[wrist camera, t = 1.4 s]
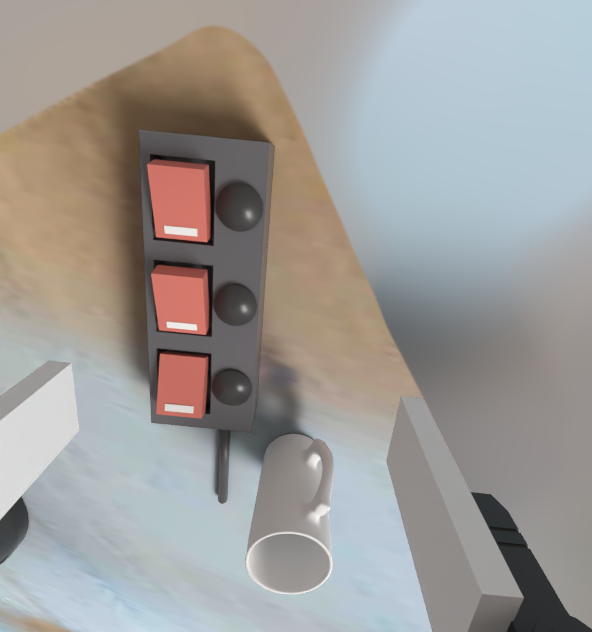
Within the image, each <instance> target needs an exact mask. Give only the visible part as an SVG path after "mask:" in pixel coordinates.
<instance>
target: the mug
mask: <svg viewBox="0 0 592 632" xmlns="http://www.w3.org/2000/svg"><path fill="white" fill-rule="evenodd" d="M333 478H334V461H333V456H332V453H331V451H330V449H329V448H328V446H327V445H326V443H325V442H324V441H322V440H320V439H315V440H312V439H311V438H309V437H307V436H304V435H300V434H287V435H283V436H280V437H278V438H276V439H275V440H273V441H272V442H271V443H270V444H269V446H268V447H267V449H266V452H265V456H264V461H263V465H262V470H261V475H260V481H259V486H258V492H257V497H256V502H255V508H254V513H253V518H252V523H251V529H250V534H249V540H248V548H247V554H246V558H245V564H246V569H247V571H248V573H249V575H250V577H251V578H252V579H253V580H254V581H255V582H256V583H257V584H258V585H260V586H261V587H263V588H265V589H267V590H269V591H272V592H276V593H281V594H300V593H305V592H308V591H311V590H313V589H315V588H317V587H319V586H320V585H321V584H323V583H324V582H325V581H326V579H327V578H328V577H329V575H330V573H331V570H332V553H331V535H330V523H329V512H328V510H330V508H331V506H330V500H331V493H332V487H333Z"/></svg>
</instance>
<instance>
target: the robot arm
mask: <svg viewBox="0 0 592 632" xmlns="http://www.w3.org/2000/svg"><path fill="white" fill-rule="evenodd" d="M78 431H79V424H78V416H77V407H76V399H75V390H74V381H73V373H72V364H71V363H66V362H56V361H48V362H46V363H45V364H44V365H42V366H41V367H40V368H38V369H37V370H36V371H34V372H33V373H31V374H30V375H29V376H27V377H26V378H25V379H23V380H22V381H20V382H19V383H18V384H16V385H15V386H14V387H12V388H11V389H10V390H8V391H7V392H5V393H4V394H3V395H1V396H0V564H2V563H3V562H4V561H5V560H6V559H7V558H8V557H9V556H10V555H11V554H12V553H13V552H14V550H15V549H16V548H17V546H18V545H19V544H20V543H21V541H22V540H23V539H24V537H25V535H26V533H27V530H28V523H29V521H28V513H27V510H26V507H25V504H24V502H23V500H22V499H21V496H22V495H23V494H24V492H25V491H26V490H27V489H28V488H29V487H30V486H31V484H32V483H33V482H34V481H35V480H36V479H37V478H38V477H39V475H40V474H41V473H42V472H43V471H44V470H45V469H46V467H47V466H48V465H49V464H50V463H51V462H52V461H53V460H54V458H55V457H56V456H57V455H58V454H59V453H60V452H61V450H62V449H63V448H64V447H65V446H66V445H67V444H68V443H69V441H70V440H71V439H72V438H73V437H74V436H75V435H76V434H77V432H78ZM387 465H388V469H389V472H390V476H391V480H392V484H393V487H394V491H395V495H396V498H397V502H398V506H399V509H400V513H401V517H402V521H403V524H404V528H405V532H406V535H407V539H408V543H409V547H410V550H411V554H412V558H413V561H414V565H415V569H416V572H417V576H418V580H419V584H420V587H421V591H422V595H423V598H424V602H425V606H426V610H427V613H428V617H429V621H430V624H431V628H432V632H592V629H591V628H589V627H588V626H586V625H585V624H584V623H582V622H581V621H579V620H578V619H576V618H574V617H572V616H570V615H569V614H568V612H567V611H566V610H565V608H564V606H563V604H562V603H561V601H560V599H559V598H558V596H557V594H556V593H555V591H554V589H553V587H552V586H551V584H550V582H549V581H548V579H547V577H546V576H545V574H544V572H543V570H542V569H541V567H540V565H539V564H538V562H537V560H536V559H535V557H534V555H533V553H532V552H531V550H530V549H528V547H527V543H526V541H525V540H524V538H523V536H522V535H521V533H519V532H518V528H517V526H516V524H515V523H514V521H513V519H512V518H511V516H510V514H509V513H508V511H507V510H506V509H505V508H504V507H503V506H502V505H501V504H500V503H499V502H498V501H497V500H496V499H495V498H494V497H493V496H492V495H491V494H483V493H472V492H470V490H469V488H468V486H467V484H466V482H465V480H464V478H463V476H462V474H461V473H460V470H459V469H458V467H457V465H456V463H455V461H454V459H453V457H452V455H451V453H450V451H449V449H448V447H447V445H446V443H445V441H444V439H443V437H442V435H441V433H440V431H439V429H438V427H437V425H436V423H435V421H434V419H433V417H432V415H431V413H430V411H429V409H428V407H427V405H426V403H425V401H424V399H422V398H412V397H403V396H401V398H400V403H399V407H398V412H397V416H396V421H395V425H394V430H393V434H392V439H391V443H390V448H389V452H388V457H387Z"/></svg>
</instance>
